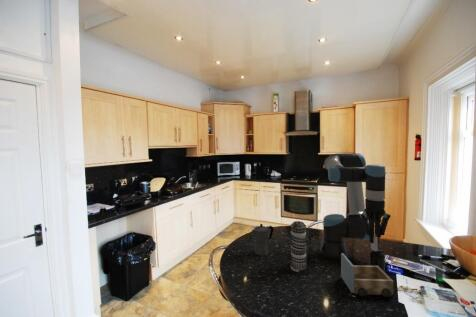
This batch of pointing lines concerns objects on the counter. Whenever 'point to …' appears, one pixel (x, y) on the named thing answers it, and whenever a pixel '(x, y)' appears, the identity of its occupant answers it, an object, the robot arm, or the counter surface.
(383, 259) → the supplement bottle
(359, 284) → the truck bed
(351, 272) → the grey square plate
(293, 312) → the counter surface
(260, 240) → the coffeepot
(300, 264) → the decorative candle
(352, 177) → the robot arm
